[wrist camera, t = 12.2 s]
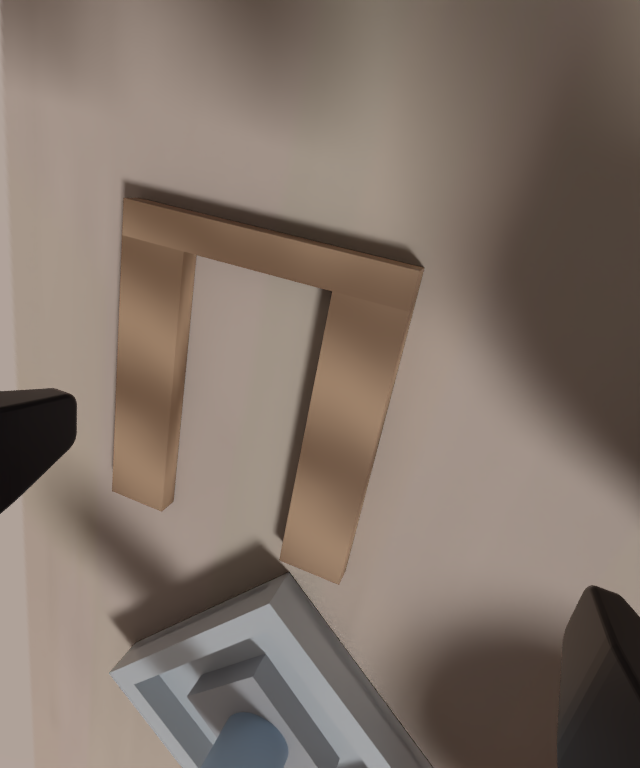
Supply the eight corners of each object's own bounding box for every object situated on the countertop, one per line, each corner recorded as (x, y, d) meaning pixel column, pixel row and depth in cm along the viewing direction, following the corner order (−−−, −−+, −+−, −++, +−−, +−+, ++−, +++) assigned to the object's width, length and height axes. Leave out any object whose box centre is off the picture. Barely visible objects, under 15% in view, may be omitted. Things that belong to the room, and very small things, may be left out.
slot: (139, 198, 23) (123, 198, 22) (424, 267, 20) (419, 271, 19) (124, 481, 28) (112, 490, 27) (345, 571, 25) (338, 584, 24)
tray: (436, 773, 27) (429, 819, 25) (260, 806, 33) (243, 846, 31) (288, 571, 26) (269, 603, 24) (135, 643, 32) (108, 673, 30)
